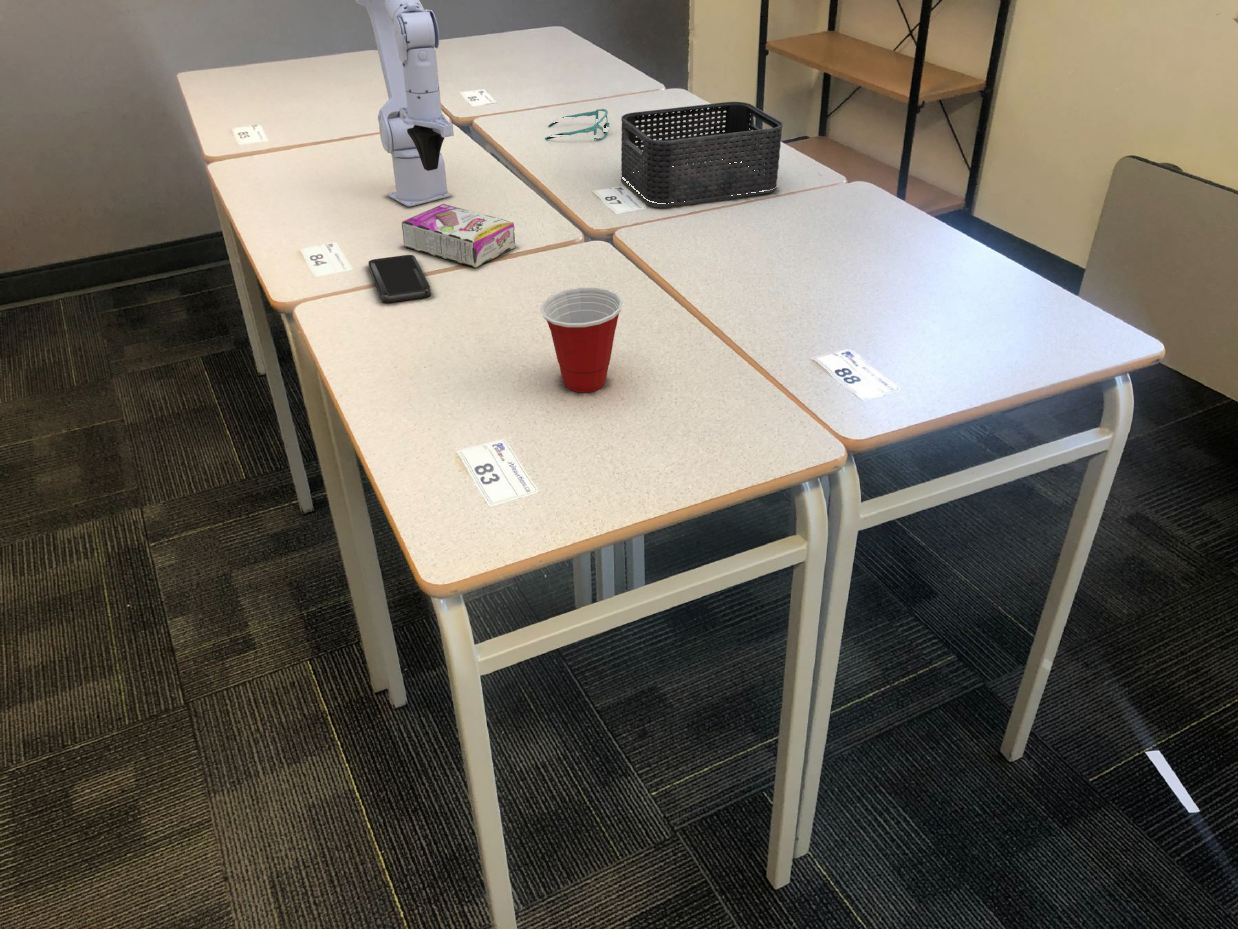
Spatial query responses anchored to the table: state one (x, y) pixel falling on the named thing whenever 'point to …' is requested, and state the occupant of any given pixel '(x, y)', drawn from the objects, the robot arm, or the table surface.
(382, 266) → the phone
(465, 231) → the candy bar box
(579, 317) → the plastic cup
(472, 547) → the table surface
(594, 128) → the sunglasses
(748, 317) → the table surface
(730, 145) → the storage bin
